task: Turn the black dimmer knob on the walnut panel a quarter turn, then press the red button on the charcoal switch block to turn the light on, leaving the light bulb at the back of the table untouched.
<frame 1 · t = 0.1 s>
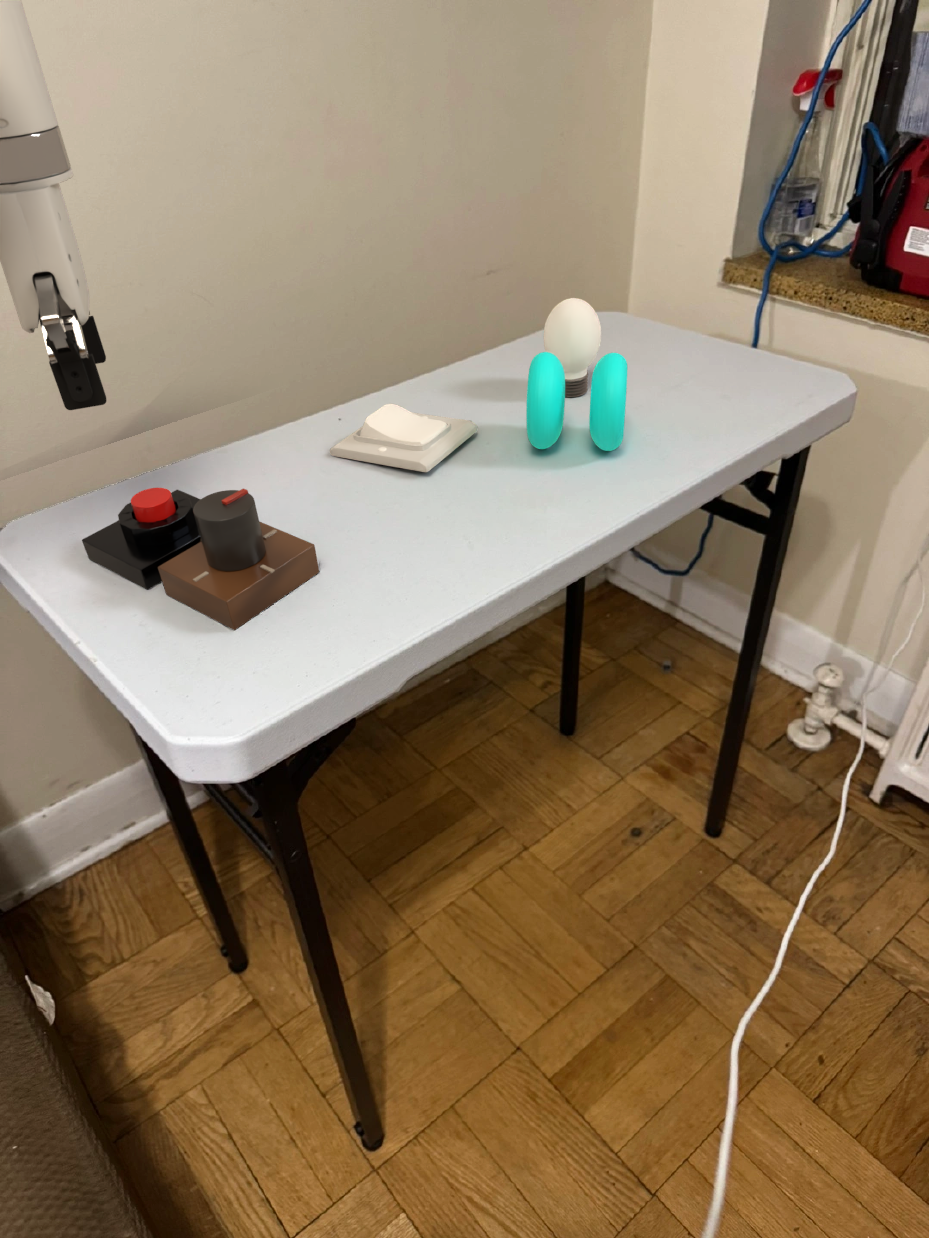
hand: (87, 384, 74), 16 cm above the table, tool pointing down, fingers open, 9 cm apart
dimmer panel: (243, 583, 77), on the table
switch block: (166, 546, 82), on the table
light bulb: (570, 392, 106), on the table
light switch: (404, 447, 96), on the table
power button: (153, 505, 79), point 4 cm above the table, slide at 0.1 cm
dimmer knob: (229, 528, 73), point 6 cm above the table, hinge at 0.0°
donuts: (575, 446, 94), on the table
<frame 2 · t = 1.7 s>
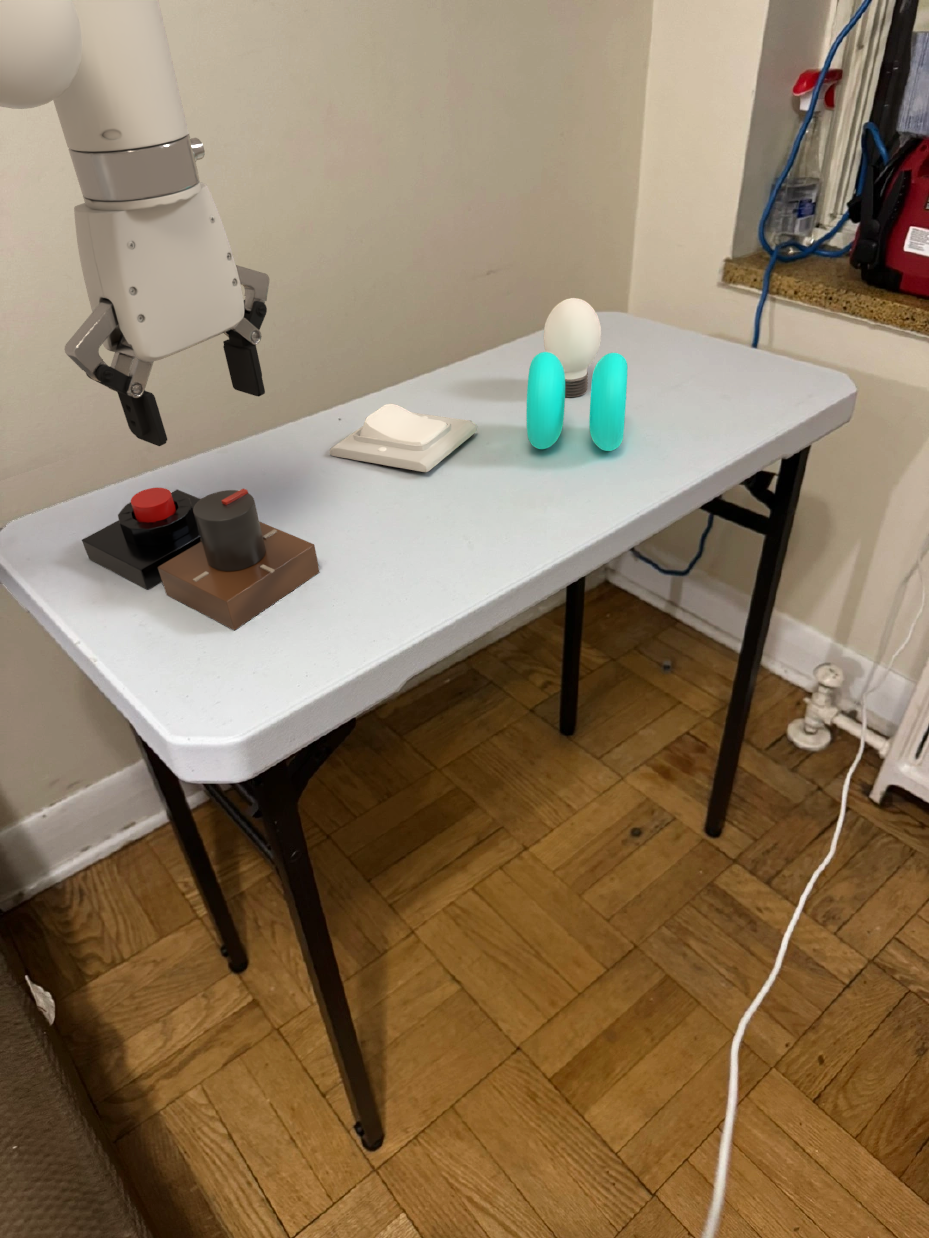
hand: (202, 415, 67), 16 cm above the table, tool pointing down, fingers open, 9 cm apart
nothing on the table moved.
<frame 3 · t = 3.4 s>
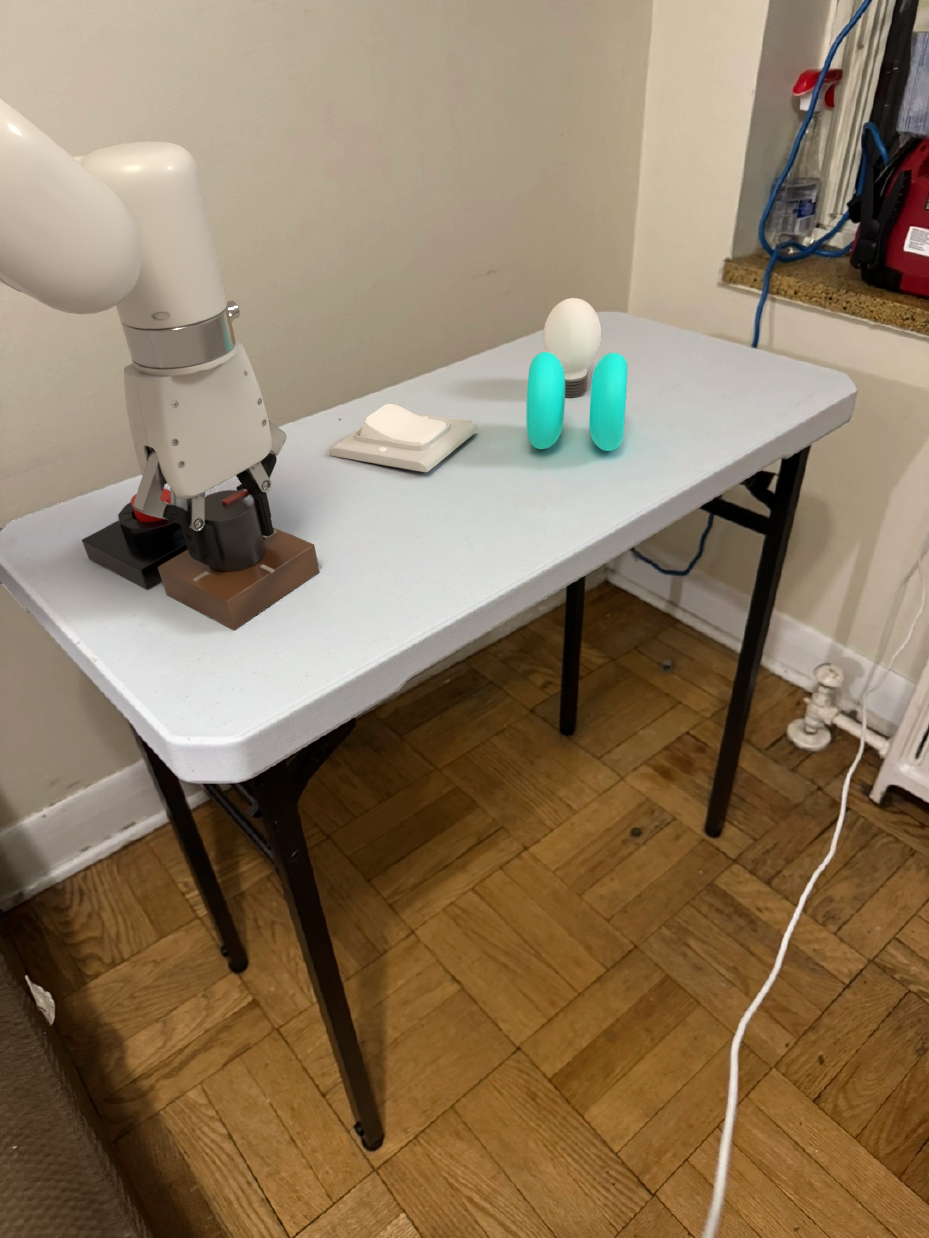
hand: (233, 544, 74), 4 cm above the table, tool pointing down, fingers closed on dimmer knob, 5 cm apart
dimmer knob: (229, 528, 73), point 6 cm above the table, hinge at 0.0°, touching gripper
everything else where it was.
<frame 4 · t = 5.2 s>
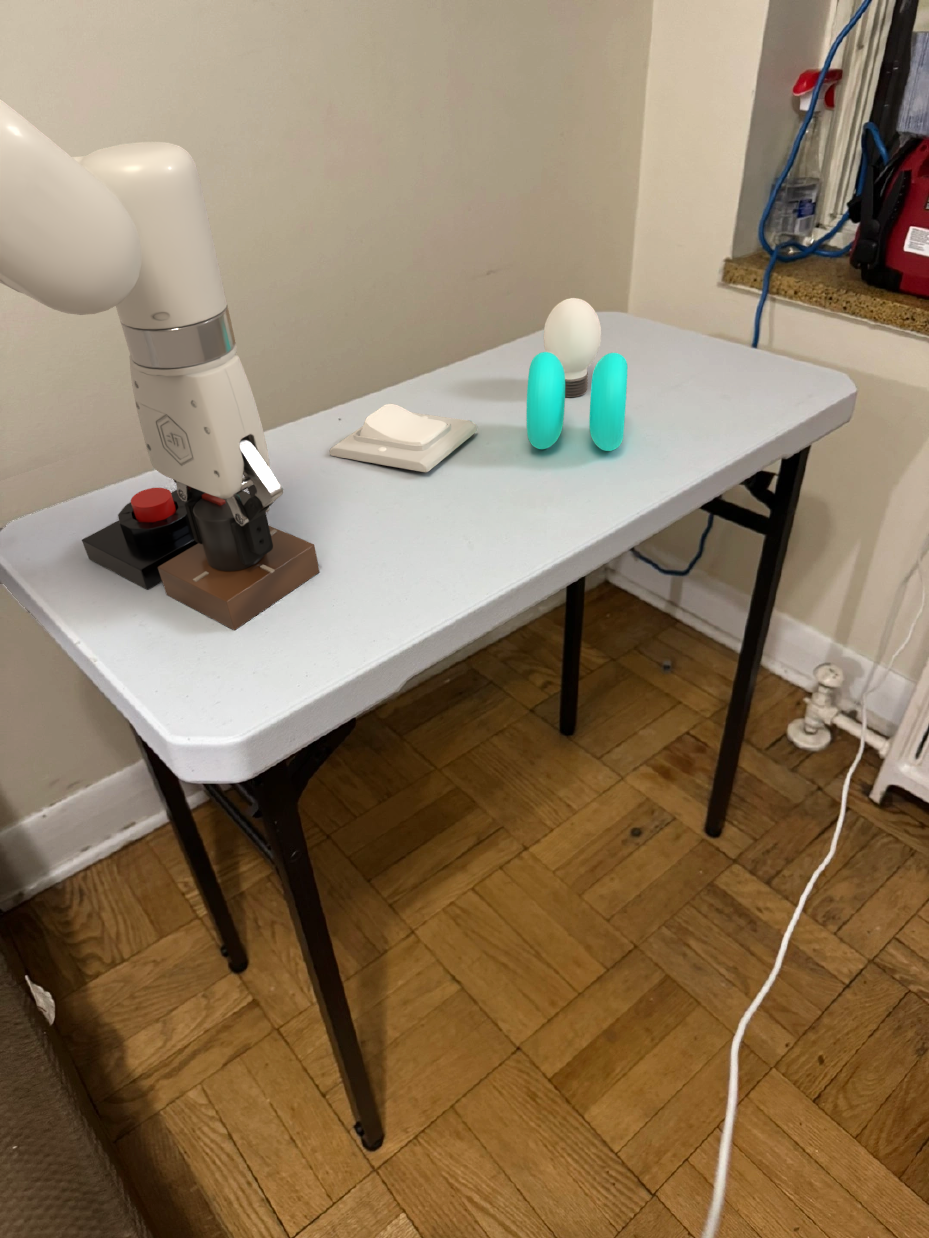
hand: (234, 544, 74), 4 cm above the table, tool pointing down, fingers closed on dimmer knob, 5 cm apart
dimmer knob: (229, 528, 73), point 6 cm above the table, hinge at 90.3°, touching gripper
everything else where it was.
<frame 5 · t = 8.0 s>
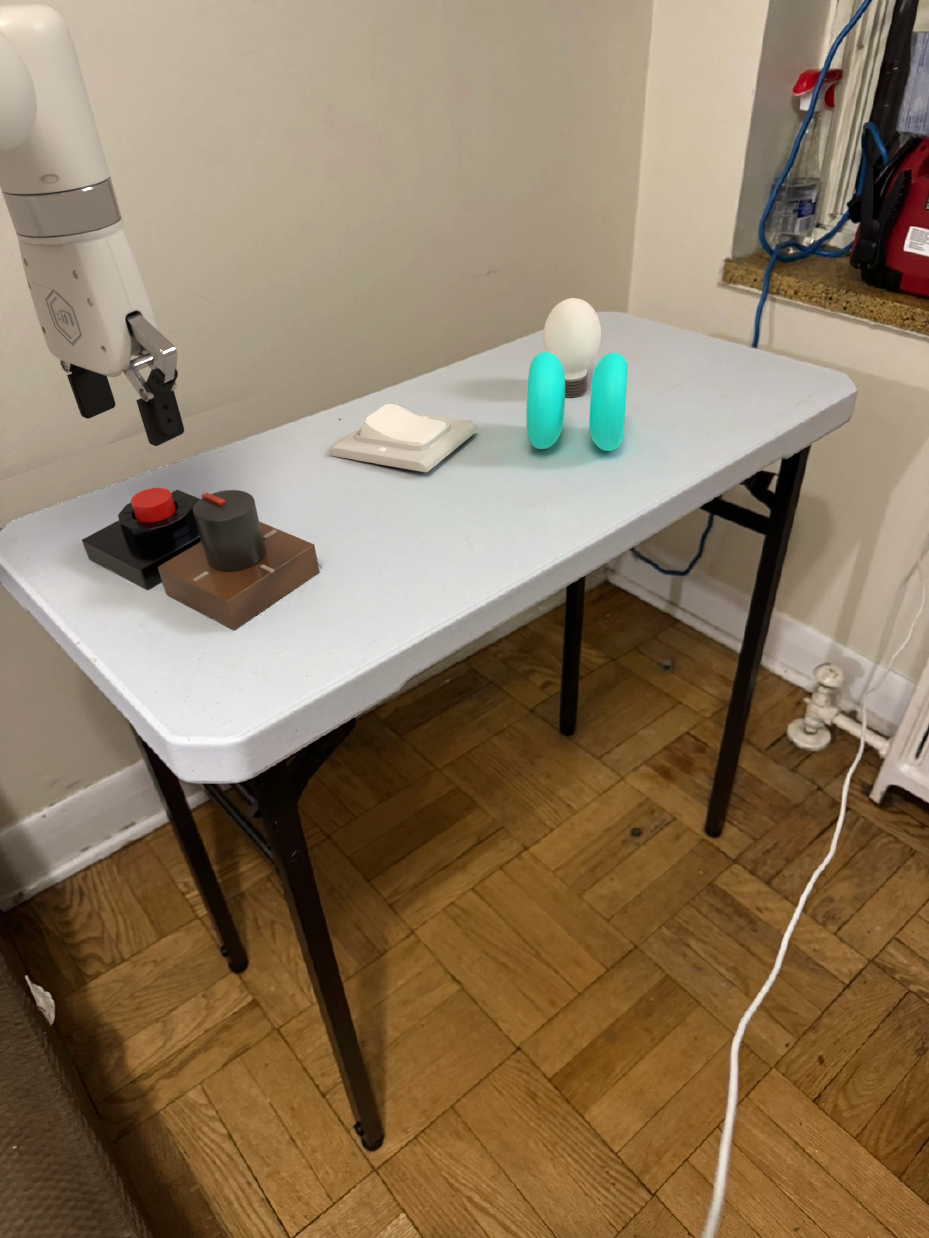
hand: (132, 425, 74), 13 cm above the table, tool pointing down, fingers open, 9 cm apart
dimmer knob: (229, 528, 73), point 6 cm above the table, hinge at 89.6°
everything else where it was.
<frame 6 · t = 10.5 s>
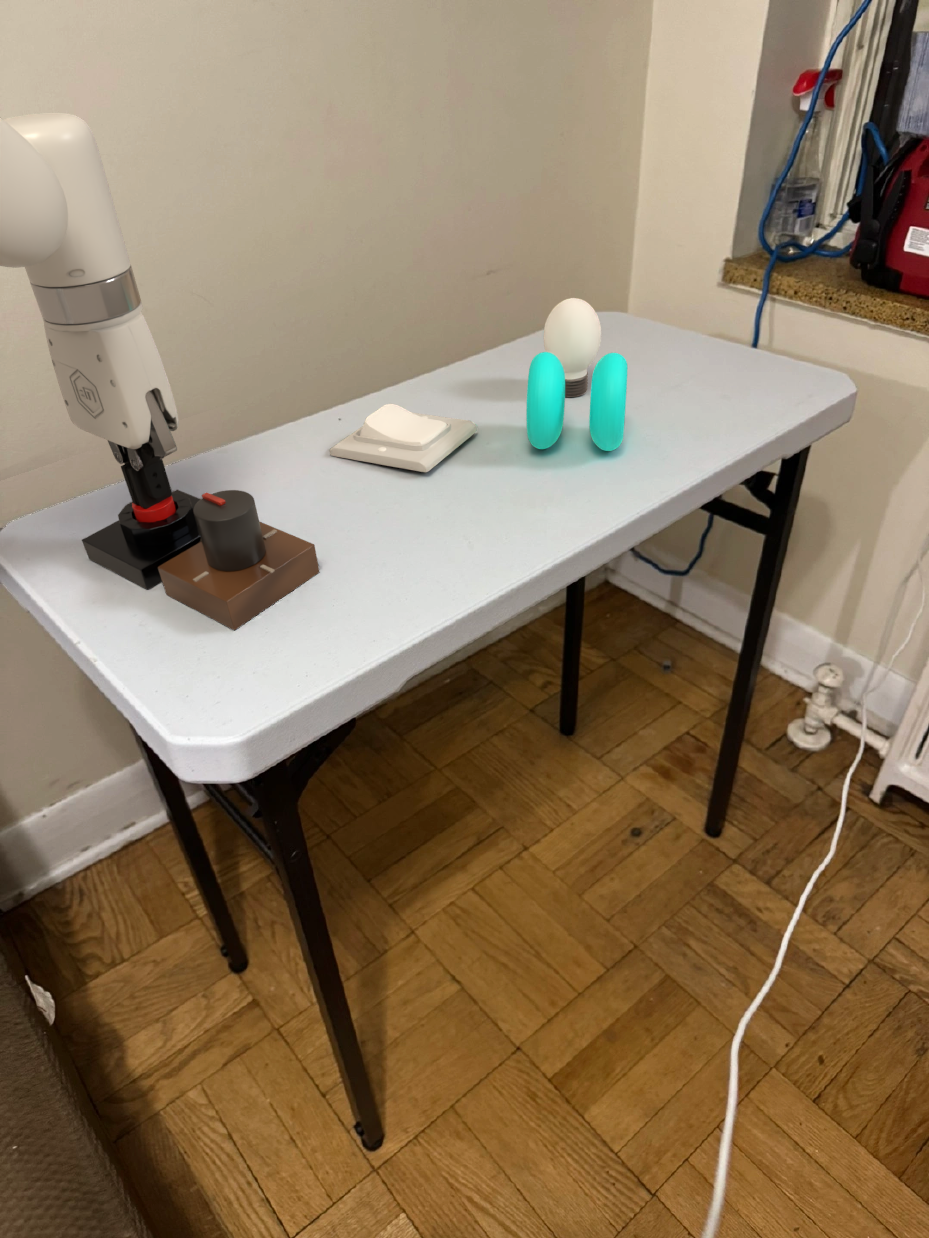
hand: (153, 499, 79), 5 cm above the table, tool pointing down, fingers closed
power button: (154, 509, 80), point 4 cm above the table, slide at -0.3 cm, touching gripper
everything else where it was.
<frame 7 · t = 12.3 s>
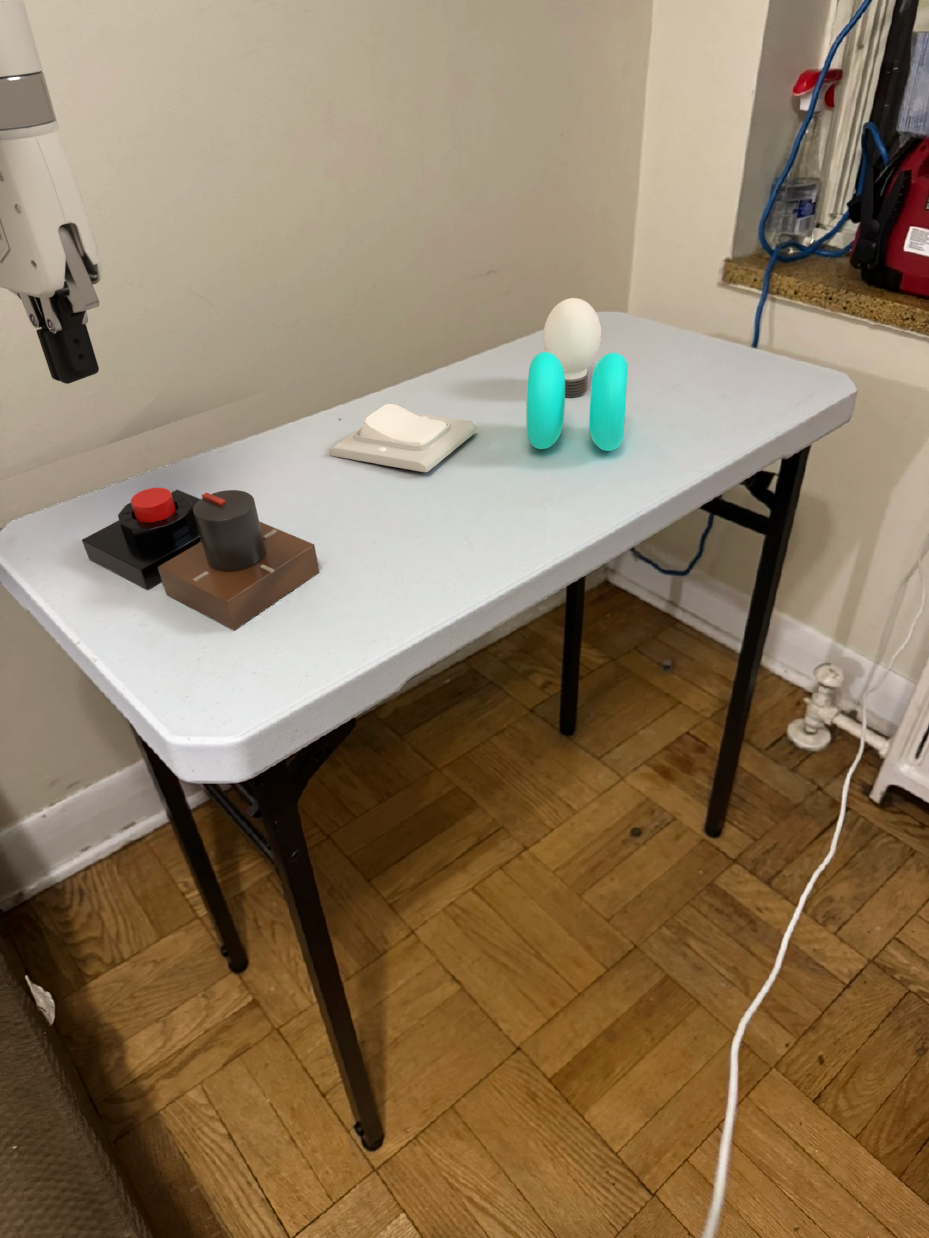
hand: (76, 376, 68), 18 cm above the table, tool pointing down, fingers closed
power button: (153, 505, 79), point 4 cm above the table, slide at 0.1 cm
everything else where it was.
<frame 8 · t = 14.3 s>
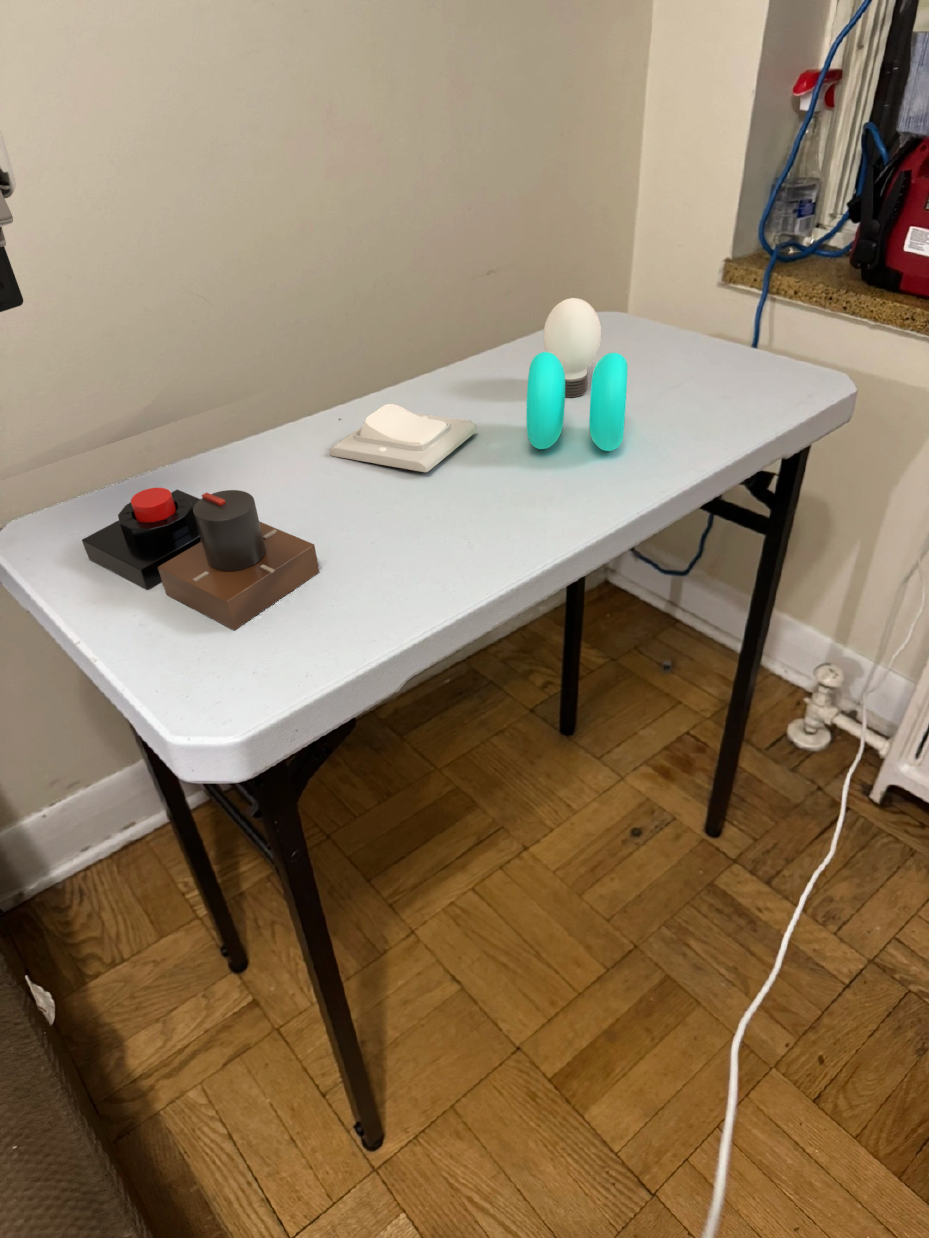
nothing on the table moved.
at the end: dimmer knob at +90° (first picture: +0°); power button pushed in 1.1 cm at the most during the clip, back to where it started at the end; light bulb moved 0.2 cm from its start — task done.
